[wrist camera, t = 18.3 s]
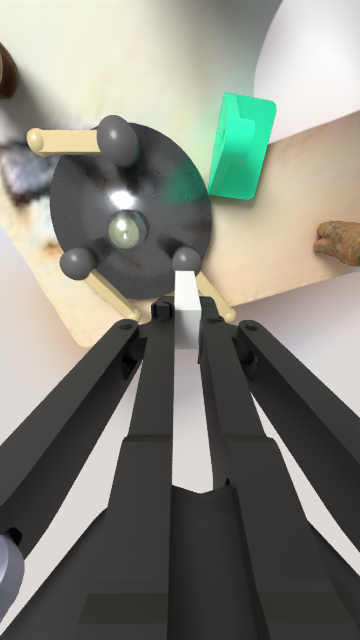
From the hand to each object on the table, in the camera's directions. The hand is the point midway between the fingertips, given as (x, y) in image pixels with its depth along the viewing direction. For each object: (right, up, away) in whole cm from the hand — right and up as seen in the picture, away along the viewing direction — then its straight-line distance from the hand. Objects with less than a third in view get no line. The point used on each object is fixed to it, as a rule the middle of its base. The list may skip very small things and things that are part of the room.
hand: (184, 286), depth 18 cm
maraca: (-14, +23, +14) cm, 30 cm away
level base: (-9, +15, +22) cm, 28 cm away
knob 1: (-14, +5, +25) cm, 29 cm away
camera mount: (+9, +24, +17) cm, 31 cm away
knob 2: (+5, +5, +25) cm, 26 cm away
